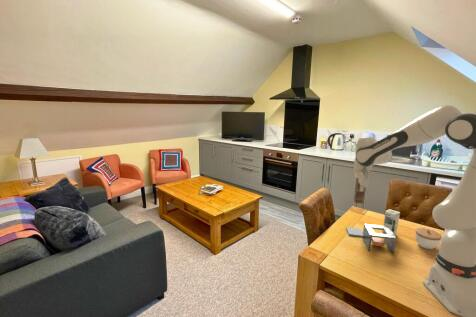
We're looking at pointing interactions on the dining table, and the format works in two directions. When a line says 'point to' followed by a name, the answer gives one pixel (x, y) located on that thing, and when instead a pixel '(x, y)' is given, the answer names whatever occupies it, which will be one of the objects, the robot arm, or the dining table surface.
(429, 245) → the lidded jar
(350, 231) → the slate pad
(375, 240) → the button
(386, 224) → the syrup box
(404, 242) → the dining table surface
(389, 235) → the frame
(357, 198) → the brown rectangular block
